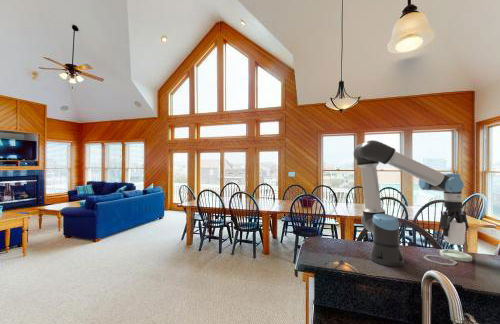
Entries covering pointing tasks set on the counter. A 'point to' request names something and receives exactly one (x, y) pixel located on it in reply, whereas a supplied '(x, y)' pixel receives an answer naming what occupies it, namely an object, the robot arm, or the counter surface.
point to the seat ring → (439, 262)
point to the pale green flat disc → (456, 255)
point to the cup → (457, 232)
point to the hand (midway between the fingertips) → (454, 241)
